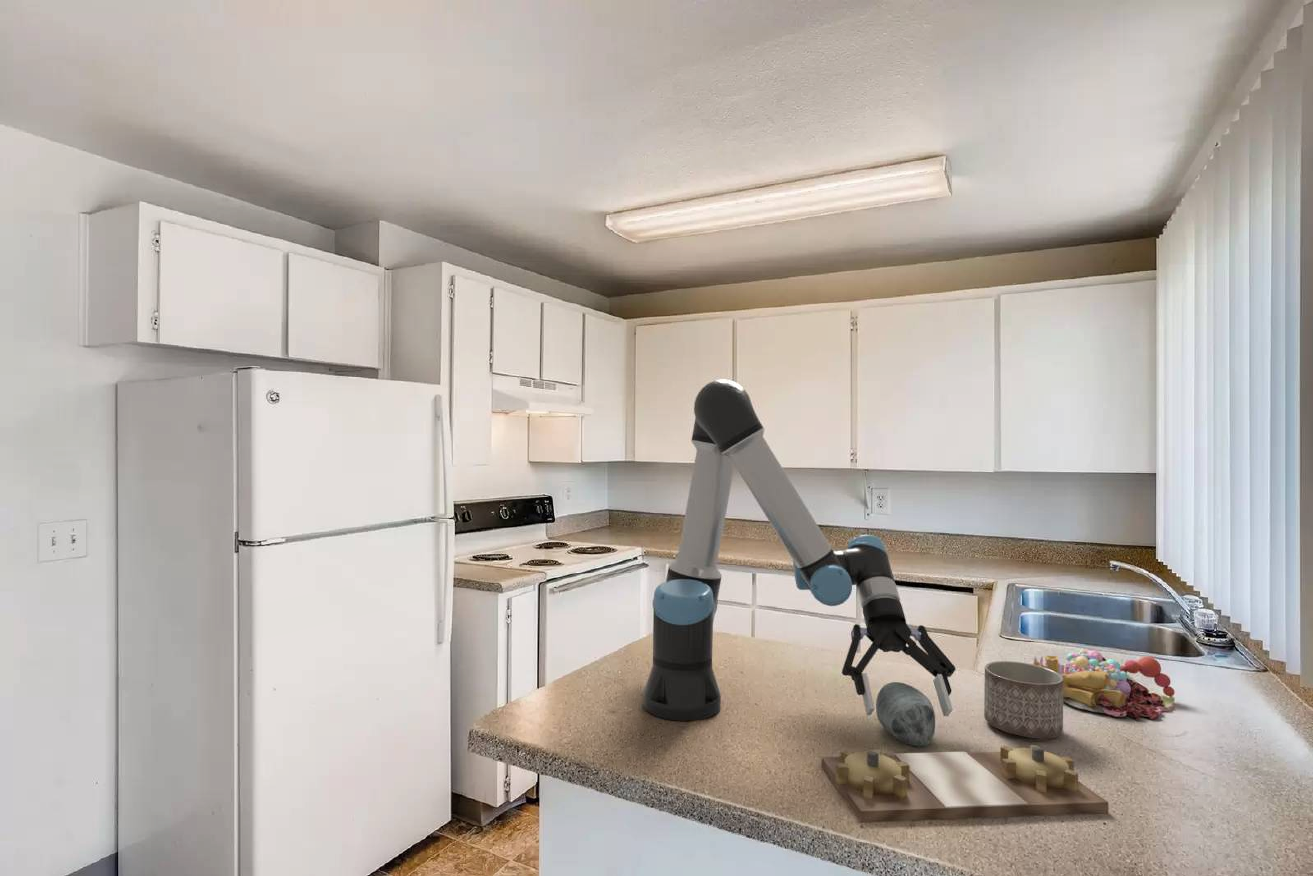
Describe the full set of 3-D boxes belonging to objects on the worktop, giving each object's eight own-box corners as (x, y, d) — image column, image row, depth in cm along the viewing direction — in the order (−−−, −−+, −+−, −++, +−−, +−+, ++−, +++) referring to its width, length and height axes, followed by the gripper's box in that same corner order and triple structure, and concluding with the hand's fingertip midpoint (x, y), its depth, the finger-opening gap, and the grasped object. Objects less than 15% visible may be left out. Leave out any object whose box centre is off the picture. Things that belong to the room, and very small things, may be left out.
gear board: (858, 822, 92) (858, 781, 92) (819, 766, 108) (819, 731, 108) (1111, 812, 95) (1111, 773, 95) (1036, 760, 111) (1036, 726, 111)
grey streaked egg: (955, 735, 112) (923, 677, 115) (903, 760, 113) (872, 701, 115) (935, 723, 125) (907, 671, 128) (888, 745, 126) (861, 693, 129)
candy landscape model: (1150, 732, 124) (1150, 682, 124) (1014, 695, 141) (1014, 651, 141) (1183, 700, 140) (1183, 655, 140) (1057, 670, 158) (1058, 630, 158)
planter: (988, 737, 120) (988, 678, 120) (980, 711, 132) (981, 657, 132) (1070, 749, 115) (1070, 688, 116) (1054, 721, 127) (1055, 666, 127)
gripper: (938, 617, 136) (973, 722, 121) (814, 615, 136) (834, 720, 121) (950, 596, 131) (988, 704, 116) (821, 594, 131) (842, 702, 115)
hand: (909, 712), depth 118 cm, fingers open, 13 cm apart
